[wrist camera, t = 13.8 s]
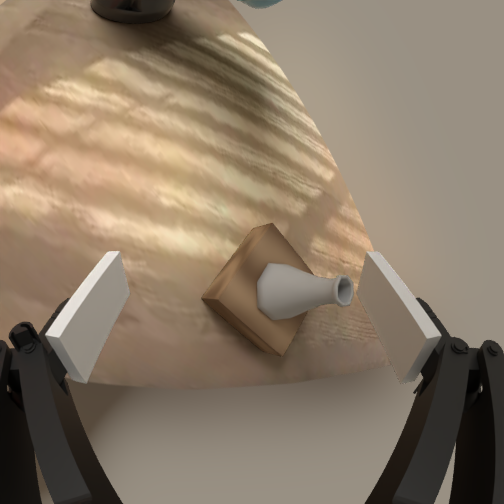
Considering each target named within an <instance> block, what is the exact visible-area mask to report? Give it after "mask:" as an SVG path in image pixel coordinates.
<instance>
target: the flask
mask: <svg viewBox="0 0 504 504" xmlns="http://www.w3.org/2000/svg"><path fill="white" fill-rule="evenodd" d="M353 295H354V292H353V282H352V280H351V279H350V278H349V276H348V275H338V276H336V278H334V279H329V278H322V277H318V276H315V275H312V274H310V273H307V272H304V271H302V270H299V269H297V268H295V267H292V266H290V265H287V264H276V263H268V265H267V266H266V268H265V270H264V271H263V273H262V275H261V277H260V278H259V280H258V282H257V307H258V308H259V309H260V310H261V311H262V312H263V313H265V314H266V315H267V316H268V317H269V318H270V319H272V320H280V319H288V318H292V317H294V316H297V315H299V314H301V313H303V312H305V311H308V310H310V309H313V308H315V307H318V306H320V305H325V304H337V305H338V306H340V307H343V306H350V303H351V301H352V298H353Z"/></svg>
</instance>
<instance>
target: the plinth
mask: <svg viewBox="0 0 504 504" xmlns="http://www.w3.org/2000/svg"><path fill="white" fill-rule="evenodd" d="M268 263H276V264H287V265H290V266H292V267H295V268H297V269H299V270H302V271H304V272H307V273H310V274H312V275H314V274H313V273H312V271H311V270H310V269H309V268H308V266H307V265H306V264H305V263H304V261H303V260H302V259H301V258H300V256H299V255H298V254H297V253H296V251H295V250H294V249H293V248H292V246H291V245H290V244H289V243H288V241H287V240H286V239H285V238H284V236H283V235H282V234H281V233H280V232H279V230H278V229H277V228H276V227H275V225H274V224H273V223H270V224H266V225H263V226H260V227H256V228H253V229H252V231H251V232H250V233H249V234H248V236H247V237H246V238H245V240H244V241H243V242H242V244H241V245H240V246H239V248H238V249H237V250H236V252H235V253H234V255H233V256H232V257H231V259H230V260H229V261H228V263H227V264H226V265H225V267H224V268H223V269H222V271H221V272H220V273H219V275H218V276H217V277H216V279H215V280H214V281H213V283H212V284H211V285H210V287H209V288H208V290H207V291H206V292H205V294H204V295H203V296H202V299H203V300H204V301H205V302H206V303H207V304H208V305H209V306H211V307H212V308H213V309H214V310H215V311H216V312H217V313H218V314H219V315H221V316H222V317H223V318H224V319H225V320H226V321H227V322H229V323H230V324H231V325H232V326H233V327H234V328H236V329H237V330H238V331H239V332H240V333H241V334H243V335H244V336H245V337H246V338H247V339H249V340H250V341H251V342H252V343H253V344H255V345H256V346H257V347H258V348H259V349H261V350H262V351H263V352H267V353H270V354H274V355H278V356H282V357H283V356H284V354H285V352H286V350H287V348H288V347H289V345H290V343H291V341H292V340H293V338H294V336H295V334H296V332H297V330H298V329H299V327H300V325H301V323H302V321H303V319H304V317H305V316H306V314H307V312H308V311H305V312H303V313H301V314H299V315H297V316H294V317H292V318H288V319H280V320H272V319H270V318H269V317H268V316H267V315H266V314H265V313H263V312H262V311H261V310H260V309H259V308H258V307H257V282H258V280H259V278H260V277H261V275H262V273H263V271H264V270H265V268H266V266H267V265H268Z"/></svg>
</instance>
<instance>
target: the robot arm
mask: <svg viewBox="0 0 504 504" xmlns="http://www.w3.org/2000/svg"><path fill="white" fill-rule="evenodd" d="M237 1H241V2H243V3H245V4H247V5H248V6H250V7H252V8H255V9H263V8H267V7H270V6H272V5H274V4H276V3H278V2H280V1H282V0H237ZM174 2H175V0H91V6H92V8H93V10H94V11H95V12H96V13H98V14H99V15H101V16H103V17H105V18H107V19H110V20H114V21H118V22H124V23H147V22H153V21H156V20H159V19H161V18H163V17H164V16H166V15H167V14H168V13H169V11H170V9H171V8H172V6H173V5H174ZM129 295H130V291H129V287H128V283H127V279H126V276H125V271H124V267H123V263H122V259H121V254H120V251H108V252H107V253H106V254H105V256H104V257H103V258H102V259H101V260H100V262H99V263H98V264H97V265H96V266H95V268H94V269H93V270H92V271H91V273H90V274H89V275H88V276H87V278H86V279H85V280H84V281H83V283H82V284H81V285H80V287H79V288H78V289H77V291H76V292H75V293H74V295H73V296H72V297H71V298H67V299H66V300H65V301H64V302H62V303H61V304H60V305H59V306H58V308H57V309H56V310H55V313H53V315H52V316H51V318H50V319H49V320H48V322H47V323H46V325H45V326H44V327H43V329H42V330H41V332H40V333H39V335H38V334H37V332H36V331H35V329H34V327H33V325H32V324H31V323H30V322H22V323H19V324H17V325H16V326H15V327H14V328H12V330H11V331H10V333H9V339H10V341H11V342H12V344H13V346H14V347H15V348H11V349H9V347H8V345H7V344H6V342H5V341H3V340H0V504H42V502H41V497H40V491H39V486H38V480H37V472H36V463H35V453H36V457H37V460H38V463H39V466H40V469H41V472H42V475H43V477H44V480H45V482H46V485H47V488H48V490H49V493H50V495H51V497H52V500H53V502H54V504H123V503H122V502H121V500H120V498H119V497H118V495H117V493H116V492H115V490H114V488H113V487H112V485H111V483H110V481H109V480H108V478H107V476H106V474H105V472H104V470H103V469H102V467H101V465H100V463H99V461H98V459H97V457H96V455H95V453H94V451H93V449H92V447H91V444H90V442H89V440H88V437H87V435H86V433H85V430H84V428H83V426H82V423H81V421H80V418H79V415H78V413H77V410H76V407H75V404H74V402H73V399H72V396H71V393H70V390H69V386H68V383H67V381H66V380H65V378H64V377H65V375H66V373H67V372H68V374H69V375H70V377H71V378H72V380H74V381H78V382H82V383H87V381H88V379H89V376H90V374H91V372H92V370H93V367H94V365H95V363H96V361H97V359H98V356H99V354H100V352H101V350H102V348H103V346H104V344H105V342H106V340H107V337H108V335H109V333H110V331H111V329H112V327H113V325H114V323H115V321H116V319H117V318H118V316H119V314H120V312H121V310H122V308H123V306H124V304H125V302H126V300H127V299H128V297H129ZM357 296H358V297H359V299H360V301H361V303H362V305H363V307H364V309H365V311H366V313H367V315H368V317H369V319H370V321H371V323H372V325H373V327H374V329H375V331H376V333H377V335H378V337H379V339H380V341H381V343H382V345H383V347H384V349H385V351H386V353H387V356H388V358H389V360H390V362H391V364H392V366H393V368H394V371H395V373H396V375H397V377H398V380H399V382H400V384H404V383H407V382H411V381H415V379H416V378H417V376H418V375H419V373H420V372H421V374H422V376H423V379H422V381H421V382H420V384H419V385H418V387H417V388H416V389H415V391H414V392H413V393H414V394H415V393H416V392H417V395H416V397H415V400H414V403H413V406H412V408H411V411H410V414H409V416H408V419H407V421H406V424H405V426H404V429H403V431H402V434H401V436H400V438H399V440H398V442H397V445H396V447H395V449H394V451H393V453H392V455H391V457H390V460H389V461H388V463H387V465H386V467H385V469H384V471H383V473H382V475H381V477H380V478H379V480H378V482H377V484H376V486H375V487H374V489H373V491H372V492H371V494H370V496H369V497H368V499H367V500H366V502H365V504H434V502H435V500H436V497H437V495H438V493H439V490H440V488H441V485H442V482H443V480H444V477H445V474H446V471H447V468H448V465H449V462H450V459H451V456H452V453H453V449H454V446H455V442H456V451H455V463H454V474H453V482H452V488H451V495H450V500H449V504H504V353H503V350H502V348H501V347H500V346H499V345H498V343H496V342H495V341H492V340H486V341H484V343H483V344H482V346H481V347H480V349H478V348H469V346H468V345H467V343H466V342H464V341H463V340H461V339H460V338H456V337H451V336H450V335H449V333H448V332H447V330H446V329H445V327H444V326H443V325H442V323H441V322H440V320H439V319H438V318H437V316H436V315H435V314H434V313H433V311H432V309H431V308H430V307H429V305H428V304H427V303H426V302H424V301H423V300H422V299H420V298H415V297H414V296H413V294H412V293H411V292H410V290H409V289H408V288H407V286H406V285H405V284H404V282H403V281H402V280H401V279H400V277H399V276H398V275H397V274H396V272H395V271H394V270H393V268H392V267H391V266H390V265H389V263H388V262H387V261H386V260H385V259H384V257H383V256H382V255H381V254H380V253H379V252H366V256H365V261H364V265H363V269H362V274H361V278H360V282H359V286H358V290H357ZM7 385H8V386H9V392H8V391H7ZM481 386H482V388H483V389H482V392H481ZM34 450H35V453H34Z"/></svg>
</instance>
